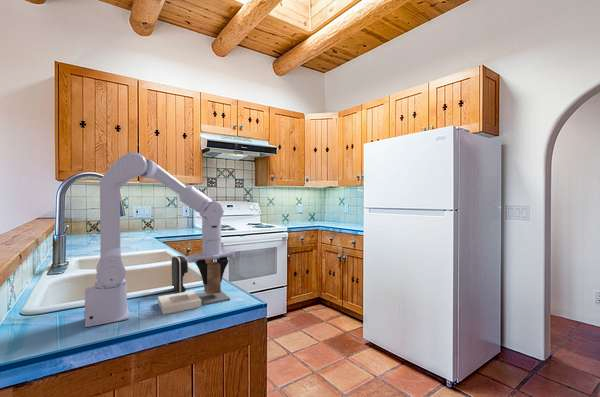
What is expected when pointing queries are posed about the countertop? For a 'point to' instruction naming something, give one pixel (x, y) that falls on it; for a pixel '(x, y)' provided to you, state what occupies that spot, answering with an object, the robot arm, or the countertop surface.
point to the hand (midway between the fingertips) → (212, 282)
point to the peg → (213, 278)
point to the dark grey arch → (179, 272)
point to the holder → (179, 302)
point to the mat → (212, 298)
